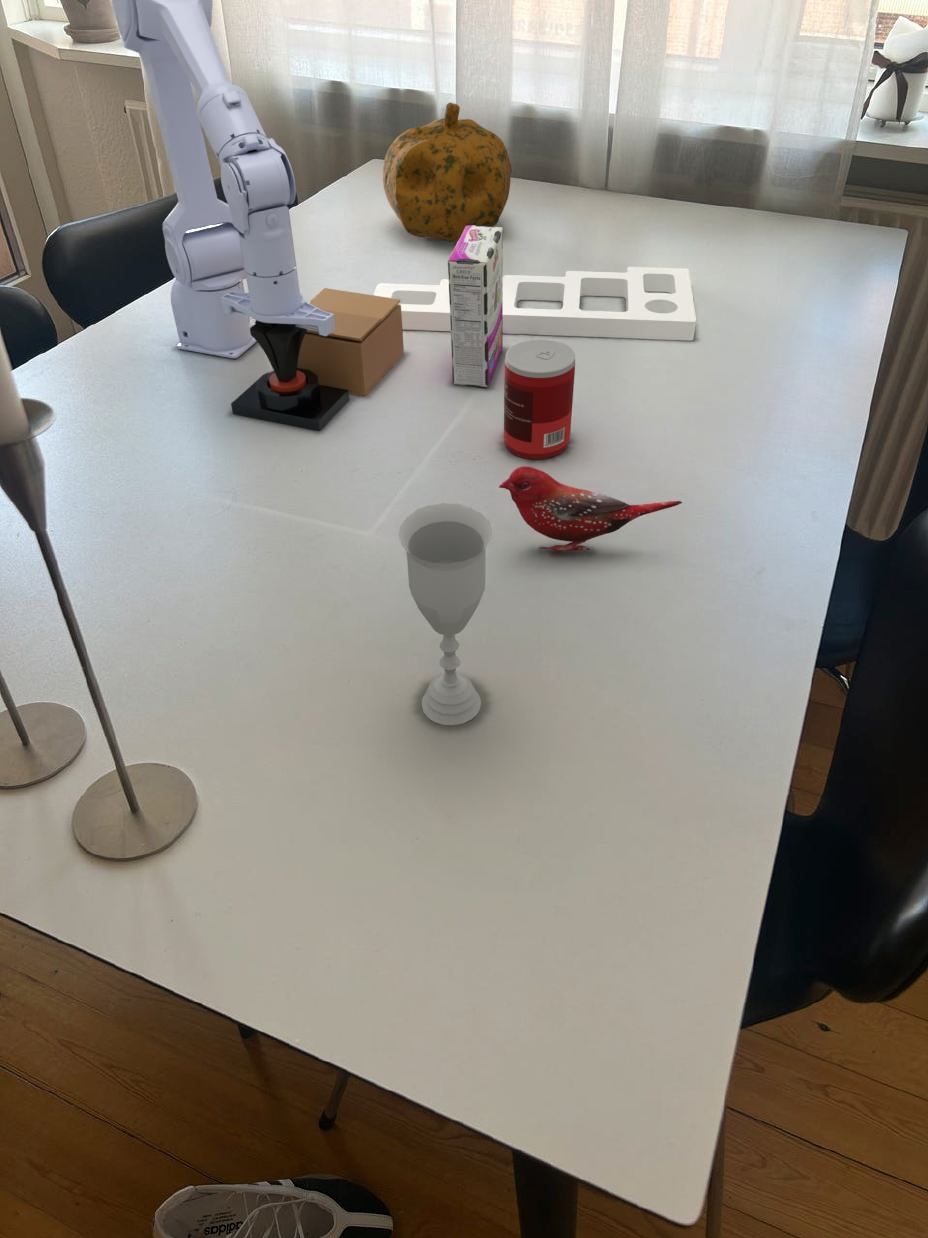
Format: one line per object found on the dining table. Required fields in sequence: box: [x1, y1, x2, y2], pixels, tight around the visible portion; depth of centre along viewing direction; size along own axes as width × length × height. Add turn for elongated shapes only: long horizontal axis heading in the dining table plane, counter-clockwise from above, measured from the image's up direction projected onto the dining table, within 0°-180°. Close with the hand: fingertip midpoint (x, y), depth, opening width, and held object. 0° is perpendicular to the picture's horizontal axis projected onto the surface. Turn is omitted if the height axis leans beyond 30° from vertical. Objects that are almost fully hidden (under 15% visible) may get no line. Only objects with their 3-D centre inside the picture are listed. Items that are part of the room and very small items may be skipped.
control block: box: [230, 368, 350, 432], centre depth 118 cm, size 12×8×4 cm, turn 69°
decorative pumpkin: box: [382, 101, 513, 243], centre depth 156 cm, size 20×21×20 cm
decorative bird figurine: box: [498, 465, 683, 553], centre depth 94 cm, size 3×18×10 cm, turn 88°
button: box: [269, 371, 307, 392], centre depth 117 cm, size 4×4×2 cm
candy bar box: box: [447, 225, 504, 388], centre depth 121 cm, size 11×5×16 cm, turn 168°
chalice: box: [398, 502, 493, 726], centre depth 76 cm, size 7×7×18 cm
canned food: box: [503, 339, 576, 460], centre depth 109 cm, size 8×8×11 cm
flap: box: [308, 287, 400, 321], centre depth 124 cm, size 6×11×1 cm, turn 69°
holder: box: [372, 266, 697, 342], centre depth 139 cm, size 45×18×3 cm, turn 83°
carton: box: [297, 305, 405, 397], centre depth 124 cm, size 12×11×8 cm
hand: (287, 378), depth 117 cm, fingers closed, pressing on button
